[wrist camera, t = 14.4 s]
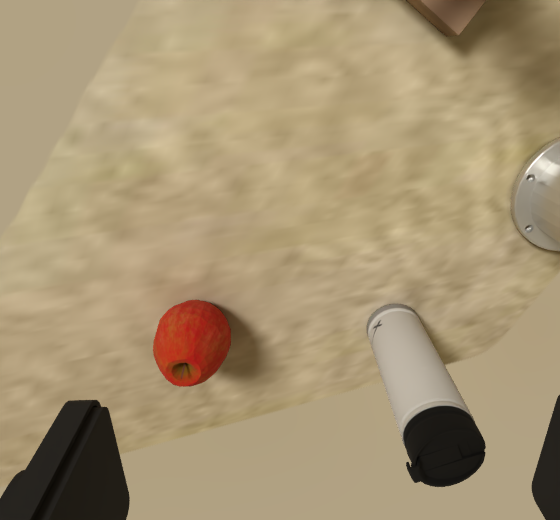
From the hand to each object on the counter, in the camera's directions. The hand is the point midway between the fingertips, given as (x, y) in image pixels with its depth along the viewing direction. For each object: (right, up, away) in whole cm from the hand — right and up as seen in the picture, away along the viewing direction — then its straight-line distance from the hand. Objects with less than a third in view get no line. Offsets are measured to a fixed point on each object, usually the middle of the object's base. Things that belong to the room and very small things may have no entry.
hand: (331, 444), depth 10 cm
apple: (-11, -3, +44) cm, 45 cm away
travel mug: (+12, -4, +44) cm, 46 cm away
